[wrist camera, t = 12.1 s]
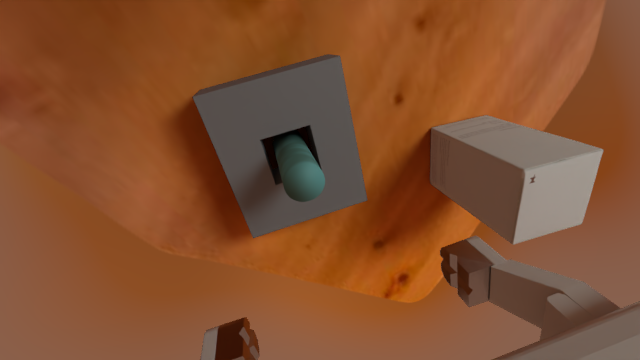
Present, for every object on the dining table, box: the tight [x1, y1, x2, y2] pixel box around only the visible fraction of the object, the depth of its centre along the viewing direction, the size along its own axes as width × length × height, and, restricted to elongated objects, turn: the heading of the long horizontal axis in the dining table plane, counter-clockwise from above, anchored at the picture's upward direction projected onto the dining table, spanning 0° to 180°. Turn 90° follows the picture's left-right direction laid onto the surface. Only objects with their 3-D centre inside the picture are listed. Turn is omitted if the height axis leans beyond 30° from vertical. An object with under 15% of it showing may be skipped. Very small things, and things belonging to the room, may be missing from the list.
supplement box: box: [430, 115, 603, 244], centre depth 29 cm, size 7×7×13 cm
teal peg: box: [273, 130, 325, 202], centre depth 25 cm, size 3×3×10 cm
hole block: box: [193, 55, 367, 238], centre depth 28 cm, size 12×14×4 cm
